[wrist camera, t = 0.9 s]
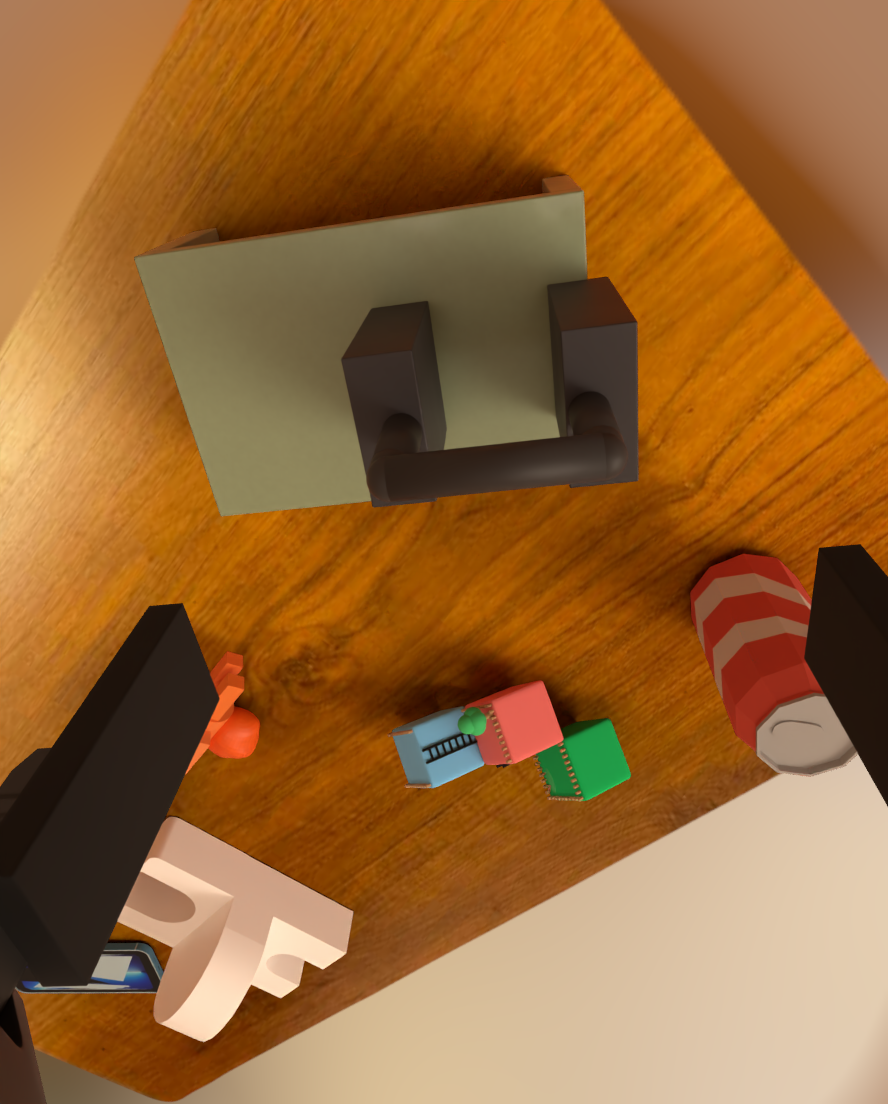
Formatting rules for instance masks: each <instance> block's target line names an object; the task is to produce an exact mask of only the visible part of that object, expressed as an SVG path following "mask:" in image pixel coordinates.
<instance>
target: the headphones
mask: <svg viewBox="0 0 888 1104" xmlns="http://www.w3.org/2000/svg"><path fill="white" fill-rule="evenodd" d="M547 291H548V306H549V321H550V336H551V351H552V366H553V381H554V396H555V410H556V419H557V424H558V429H559V435H560V437H556V438H547V439H538V440H529V441H520V442H510V443H501V444H492V445H483V446H473V447H464V448H455V449H446V450H444V445H445V438H446V431H447V425H446V418H445V412H444V405H443V398H442V391H441V385H440V378H439V371H438V364H437V358H436V351H435V344H434V337H433V331H432V324H431V317H430V310H429V304H428V301H423V302H415V303H408V304H400V305H393V306H385V307H378V308H372V309H371V310H370V311H369V313H368V315H367V316H366V318H365V320H364V321H363V323H362V325H361V326H360V328H359V330H358V331H357V333H356V335H355V336H354V338H353V340H352V342H351V343H350V345H349V347H348V348H347V350H346V352H345V353H344V355H343V357H342V358H341V362H342V367H343V371H344V376H345V381H346V385H347V390H348V395H349V399H350V404H351V408H352V413H353V418H354V422H355V427H356V432H357V436H358V441H359V446H360V450H361V455H362V460H363V464H364V469H365V474H366V482H367V486H368V489H369V492H370V497H371V501H372V506H373V507H382V506H392V505H402V504H412V503H422V502H432V501H436V500H437V497H446V496H456V495H466V494H476V493H486V492H496V491H506V490H516V489H526V488H536V487H546V486H556V485H566V484H569V485H570V488H573V487H583V486H593V485H603V484H613V483H623V482H633V481H638V356H637V321H636V320H635V318H634V316H633V315H632V313H631V312H630V310H629V309H628V307H627V306H626V304H625V303H624V301H623V300H622V298H621V296H620V295H619V293H618V292H617V290H616V289H615V287H614V286H613V284H612V283H611V281H610V280H609V278H608V277H602V278H594V279H587V280H579V281H572V282H564V283H557V284H549V285H547Z"/></svg>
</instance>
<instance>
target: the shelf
mask: <svg viewBox="0 0 888 1104" xmlns="http://www.w3.org/2000/svg"><path fill="white" fill-rule="evenodd" d="M542 192H543V194H537V195H530V196H523V197H517V198H510V199H503V200H496V201H490V202H483V203H476V204H470V205H463V206H456V207H449V208H443V209H436V210H429V211H422V212H416V213H409V214H402V215H396V216H389V217H382V218H375V219H369V220H362V221H355V222H349V223H342V224H335V225H328V226H322V227H315V228H308V229H301V230H295V231H288V232H281V233H275V234H268V235H261V236H254V237H248V238H241V239H234V240H228V241H221V242H220V240H219V236H218V233H217V229H216V228H212V229H206V230H199V231H193V232H191V233H189V234H186V235H184V236H182V237H179V238H177V239H175V240H172V241H170V242H168V243H166V244H163V245H161V246H159V247H156V248H154V249H152V250H149V251H147V252H145V253H143V254H140V255H138V256H136V257H134V260H135V263H136V266H137V269H138V272H139V275H140V278H141V280H142V283H143V286H144V289H145V292H146V295H147V298H148V301H149V304H150V307H151V310H152V313H153V316H154V319H155V322H156V325H157V328H158V331H159V334H160V337H161V340H162V343H163V346H164V349H165V352H166V355H167V358H168V361H169V364H170V367H171V370H172V373H173V376H174V379H175V382H176V385H177V388H178V391H179V394H180V397H181V399H182V402H183V405H184V408H185V411H186V414H187V417H188V420H189V423H190V426H191V429H192V432H193V435H194V438H195V441H196V444H197V447H198V450H199V453H200V456H201V459H202V462H203V465H204V468H205V471H206V474H207V477H208V480H209V483H210V486H211V489H212V492H213V495H214V498H215V501H216V504H217V507H218V510H219V513H220V515H221V516H229V515H239V514H249V513H259V512H268V511H278V510H288V509H298V508H308V507H318V506H328V505H338V504H348V503H357V502H367V501H371V497H370V492H369V489H368V486H367V482H366V474H365V469H364V464H363V460H362V455H361V450H360V446H359V441H358V436H357V432H356V427H355V422H354V418H353V413H352V408H351V404H350V399H349V395H348V390H347V385H346V381H345V376H344V371H343V367H342V362H341V358H342V357H343V355H344V353H345V352H346V350H347V348H348V347H349V345H350V343H351V342H352V340H353V338H354V336H355V335H356V333H357V331H358V330H359V328H360V326H361V325H362V323H363V321H364V320H365V318H366V316H367V315H368V313H369V311H370V310H371V309H372V308H378V307H385V306H393V305H400V304H408V303H415V302H423V301H428V304H429V310H430V317H431V324H432V331H433V337H434V344H435V351H436V358H437V364H438V371H439V378H440V385H441V391H442V398H443V405H444V412H445V418H446V425H447V431H446V438H445V445H444V450H446V449H455V448H464V447H473V446H483V445H492V444H501V443H510V442H520V441H529V440H538V439H547V438H556V437H560V435H559V429H558V424H557V419H556V410H555V396H554V381H553V366H552V351H551V336H550V321H549V306H548V291H547V285H549V284H557V283H564V282H572V281H579V280H587V257H586V232H585V207H584V192H583V190H582V189H581V188H580V187H579V186H578V185H577V184H576V183H575V182H574V181H573V180H572V179H571V178H570V177H569V176H568V175H563V176H556V177H549V178H543V179H542Z"/></svg>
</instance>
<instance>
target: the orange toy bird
mask: <svg viewBox="0 0 888 1104" xmlns="http://www.w3.org/2000/svg"><path fill="white" fill-rule="evenodd" d="M242 668H243V656H242V655H239V654H235V653H232V652H229V651H227V652H226V653H225V655H224V656H223V657H222V658H221V660H220V661H219V662H218V664H217V665H216V666H215V667H214V669H213V670H212V671H211V672H210V675H211V678H212V680H213V683H214V685H215V688H216V691H217V693H218V696H219V698H220V700H219V702H218V704H217V706H216V708H215V711H214V713H213V715H212V717H211V719H210V721H209V724H208V726H207V728H206V730H205V732H204V734H203V737H202V739H201V741H200V743H199V745H198V747H197V750H196V752H195V754H194V756H193V758H192V760H191V763H190V765H189V767H188V769H187V771H186V773H187V772H188V771H189V770H190V768H191V767H192V766H193V765H194V764H195V763H196V761H197V760H198V759H199V758H200V757H201V755H202V754H203V753H204V752H205V751H206V750H207V748H208V749H209V750H211V751H212V752H213V753H215V754H217V755H218V756H220V757H224V758H244V757H247V756H249V755H251V754H252V753H253V751H254V749H255V747H256V745H257V742H258V739H259V729H260V721H259V720H258V718H257V717H256V716H255V715H254V714H253V713H252V712H250V711H249V710H246V709H244V708H240V707H234V702H235V700H236V699H237V698H238V697H239V696H240V694H241V693H242V692H243V691H244V677H242V676H238V675H237V674H238V673H239V672H240V671H241V669H242ZM186 773H185V774H186Z"/></svg>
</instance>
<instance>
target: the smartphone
mask: <svg viewBox="0 0 888 1104" xmlns="http://www.w3.org/2000/svg"><path fill="white" fill-rule="evenodd" d="M163 973H164V972H163V970H162V968H161V966H160V964H159V962H158V960H157V958H156V956H155V954H154V951H153V949H152V948H151V947H150V946H148V945H146V944H143V943H107V944H106V946H105V949H104V951H103V953H102V955H101V957H100V959H99V962H98V964H97V966H96V968H95V970H94V972H93V975H92V977H91V979H90V981H89V983H88V985H87V986H61V987H42V985H41V984H40V983H39V981H38V980H37V979H36V977H35V976H34V975H33V973H32V972H31V971H30V969H29V968H28V967H26V969H25V970H24V972H23V974H22V976H21V978H20V980H19V981H18V983H17V985H16V987H15V989H16V990H18V991H20V992H23V993H157V991H158V988H159V985H160V982H161V979H162V976H163Z"/></svg>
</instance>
